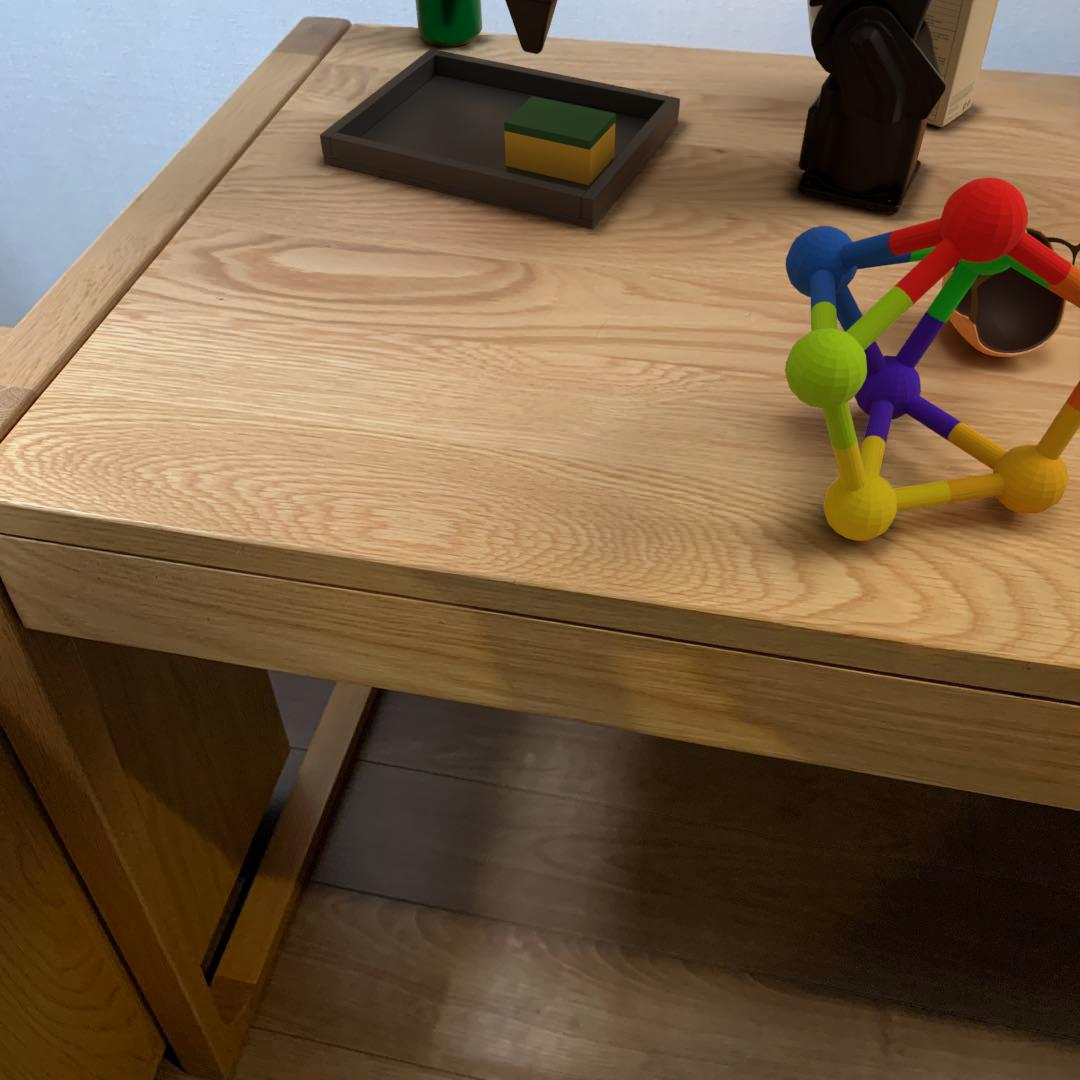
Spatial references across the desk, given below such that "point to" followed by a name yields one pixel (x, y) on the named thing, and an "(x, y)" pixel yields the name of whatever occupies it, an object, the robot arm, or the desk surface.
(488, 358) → the desk surface
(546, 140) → the sponge
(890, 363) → the educational toy
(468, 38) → the soda can
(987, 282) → the helmet
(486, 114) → the tray
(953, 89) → the cosmetic box
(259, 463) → the desk surface
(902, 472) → the desk surface
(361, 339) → the desk surface
